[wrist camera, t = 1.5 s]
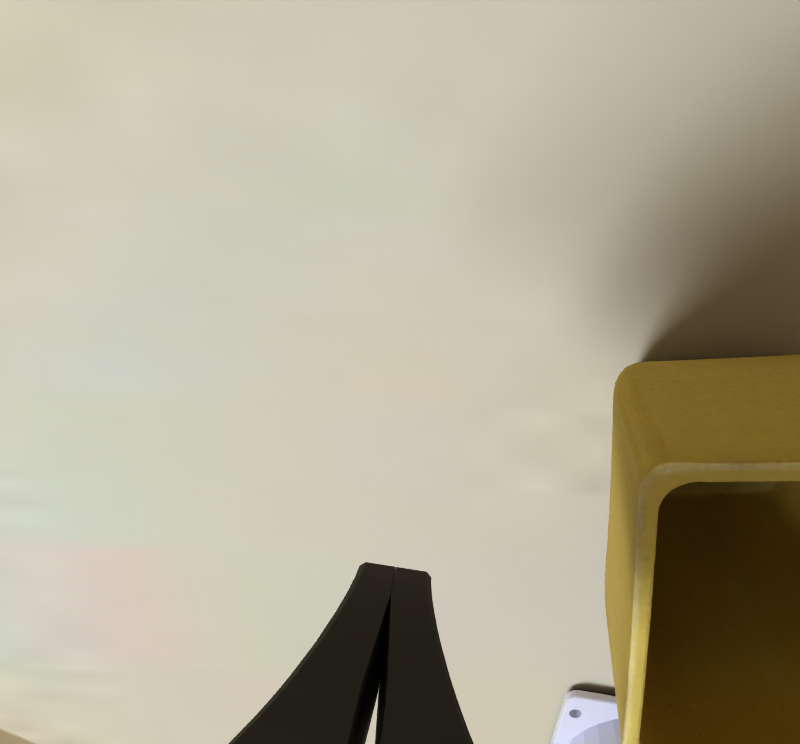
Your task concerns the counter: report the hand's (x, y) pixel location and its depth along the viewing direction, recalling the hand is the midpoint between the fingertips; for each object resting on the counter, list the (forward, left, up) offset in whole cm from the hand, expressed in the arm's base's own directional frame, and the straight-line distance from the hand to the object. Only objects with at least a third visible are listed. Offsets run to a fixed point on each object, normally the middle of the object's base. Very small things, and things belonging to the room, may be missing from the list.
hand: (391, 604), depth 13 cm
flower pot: (0, -10, -10) cm, 14 cm away
